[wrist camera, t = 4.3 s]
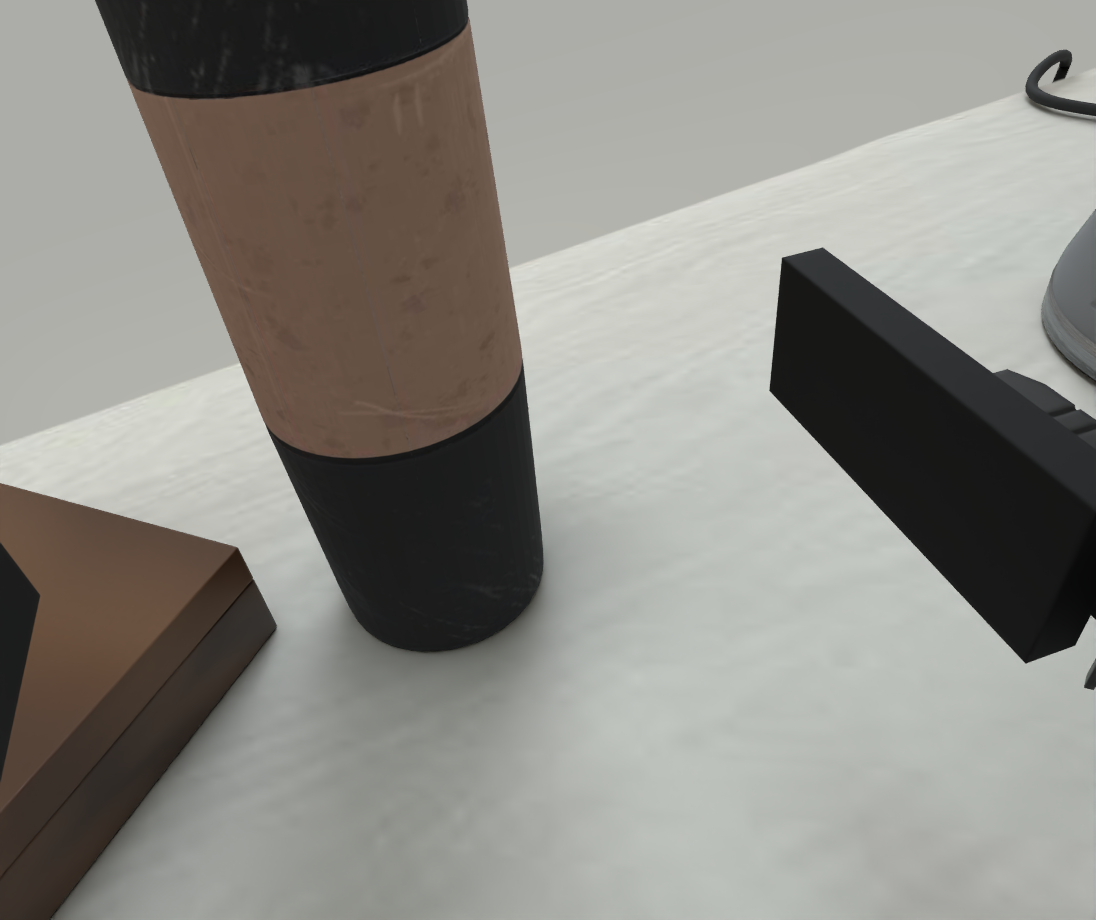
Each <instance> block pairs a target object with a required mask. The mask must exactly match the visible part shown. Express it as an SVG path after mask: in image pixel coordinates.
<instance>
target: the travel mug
mask: <svg viewBox="0 0 1096 920" xmlns="http://www.w3.org/2000/svg"><path fill="white" fill-rule="evenodd" d="M95 1H96V4H97V6H98V9H99V11H100V14H101V16H102V19H103V21H104V24H105V26H106V28H107V31H108V34H109V36H110V39H111V41H112V44H113V46H114V49H115V51H116V53H117V56H118V59H119V61H120V64H121V66H122V69H123V71H124V73H125V76H126V78H127V80H128V83H129V86H130V88H131V90H132V93H133V96H134V98H135V101H136V103H137V106H138V108H139V111H140V113H141V116H142V118H143V121H144V123H145V126H146V128H147V131H148V133H149V136H150V138H151V141H152V143H153V146H154V148H155V150H156V153H157V156H158V158H159V161H160V163H161V166H162V168H163V171H164V173H165V176H166V178H167V181H168V183H169V186H170V188H171V191H172V193H173V196H174V198H175V201H176V203H177V206H178V208H179V211H180V213H181V216H182V218H183V221H184V223H185V226H186V228H187V231H188V233H189V236H190V238H191V241H192V243H193V246H194V248H195V251H196V253H197V256H198V258H199V261H200V263H201V266H202V268H203V271H204V273H205V276H206V278H207V281H208V283H209V286H210V288H211V291H212V293H213V296H214V298H215V301H216V303H217V306H218V308H219V311H220V313H221V316H222V318H223V321H224V323H225V326H226V328H227V331H228V333H229V336H230V338H231V341H232V343H233V346H234V348H235V351H236V353H237V356H238V358H239V361H240V363H241V366H242V368H243V371H244V373H245V376H246V378H247V381H248V383H249V386H250V388H251V391H252V393H253V396H254V398H255V401H256V403H257V406H258V408H259V411H260V413H261V416H262V418H263V421H264V422H265V424H266V427H267V429H268V432H269V434H270V436H271V439H272V441H273V443H274V445H275V447H276V449H277V452H278V454H279V456H280V458H281V460H282V462H283V465H284V467H285V469H286V471H287V473H288V476H289V478H290V480H291V482H292V484H293V486H294V489H295V491H296V493H297V495H298V497H299V499H300V502H301V504H302V506H303V508H304V510H305V513H306V515H307V517H308V519H309V521H310V523H311V526H312V528H313V530H314V532H315V534H316V536H317V539H318V541H319V543H320V545H321V547H322V550H323V552H324V554H325V556H326V558H327V560H328V563H329V565H330V567H331V569H332V571H333V573H334V576H335V578H336V580H337V582H338V584H339V586H340V588H341V591H342V593H343V595H344V597H345V599H346V601H347V603H348V605H349V607H350V609H351V610H352V612H353V614H354V615H355V617H356V619H357V620H358V622H359V623H360V624H361V625H362V626H363V627H364V628H365V629H366V630H367V631H368V632H370V633H371V634H372V635H373V636H375V637H376V638H378V639H380V640H382V641H383V642H385V643H388V644H390V645H393V646H396V647H399V648H403V649H408V650H415V651H442V650H450V649H455V648H459V647H463V646H467V645H470V644H472V643H475V642H478V641H480V640H482V639H485V638H487V637H489V636H491V635H493V634H494V633H496V632H498V631H499V630H501V629H502V628H504V627H505V626H506V625H508V624H509V623H510V622H512V621H513V620H514V619H515V618H516V617H517V616H518V615H519V614H520V613H521V612H522V611H523V610H524V609H525V607H526V606H527V605H528V604H529V602H530V601H531V599H532V597H533V596H534V594H535V592H536V590H537V587H538V585H539V582H540V579H541V575H542V571H543V545H542V534H541V523H540V514H539V504H538V495H537V486H536V477H535V468H534V458H533V449H532V440H531V431H530V422H529V413H528V403H527V394H526V385H525V376H524V367H523V359H522V350H521V343H520V337H519V330H518V324H517V318H516V311H515V305H514V299H513V292H512V286H511V280H510V273H509V267H508V260H507V254H506V248H505V241H504V235H503V229H502V222H501V216H500V210H499V204H498V197H497V191H496V184H495V178H494V172H493V165H492V159H491V153H490V147H489V140H488V133H487V127H486V121H485V114H484V109H483V102H482V95H481V89H480V83H479V76H478V70H477V64H476V57H475V51H474V45H473V38H472V32H471V26H470V20H469V17H468V6H467V0H95Z"/></svg>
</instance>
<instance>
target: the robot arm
mask: <svg viewBox="0 0 1096 920" xmlns="http://www.w3.org/2000/svg"><path fill="white" fill-rule="evenodd" d="M1058 62H1060V64H1059V67H1058V70H1057V72H1056V75H1055V77H1054V79H1053V82H1056V81H1059V80H1062V79H1065V77H1066V75H1067V73H1068V70H1069V68H1070V65H1071V62H1072V54H1071V52H1070V51H1068V50H1059V51H1057V52H1055V53H1053V54H1051V55H1050V56H1048V57H1047V58H1046V59H1044V60H1043V61H1042V62H1041V63H1040V64H1039V65H1038V66H1036V67H1035V69H1034V70H1033V71H1032V72H1031V74H1030V75H1029V77H1028V80H1027V83H1026V93H1027V94H1028V96H1029V98H1030V99H1032V100H1033V101H1035V102H1036V103H1039V104H1041V105H1044V106H1047V107H1050V108H1054V109H1058V110H1063V111H1068V112H1073V113H1079V114H1085V115H1092V116H1096V104H1094V103H1087V102H1081V101H1075V100H1070V99H1065V98H1060V97H1057V96H1053V95H1050V94H1048V93H1045V92H1043V91H1042V90H1040V89H1039V88H1038V81H1039V80H1040V78H1041V77H1042V75H1043V74H1044V73H1045V72H1046V71H1047V70H1048V69H1049V68H1050V67H1051V66H1053V65H1054V64H1056V63H1058ZM1053 82H1052V83H1053ZM1042 318H1043V323H1044V326H1045V329H1046V331H1047V333H1048V335H1049V336H1050V338H1051V340H1052V341H1053V343H1054V344H1055V345H1056V347H1057V348H1058V349H1059V350H1060V351H1061V352H1062V353H1063V355H1064V356H1065V357H1066V358H1067V359H1068V360H1069V361H1071V362H1072V363H1073V364H1074V365H1075V366H1076V367H1078V368H1079V369H1080V370H1081V371H1083V372H1084V373H1085V374H1087V375H1088V376H1090V377H1091V378H1092V379H1094V380H1095V381H1096V209H1095V211H1094V212H1093V213H1092V215H1091V216H1090V217H1089V219H1088V220H1087V221H1086V222H1085V224H1084V225H1083V226H1082V228H1081V229H1080V230H1079V231H1078V233H1077V234H1076V235H1075V237H1074V238H1073V239H1072V241H1071V242H1070V243H1069V244H1068V246H1067V247H1066V249H1065V250H1064V252H1063V254H1062V255H1061V257H1060V259H1059V261H1058V263H1057V264H1056V266H1055V268H1054V270H1053V272H1052V275H1051V278H1050V281H1049V284H1048V287H1047V290H1046V294H1045V297H1044V300H1043V303H1042ZM770 392H771V393H772V394H773V395H774V396H775V397H776V398H777V399H778V400H779V401H780V403H781V404H782V405H783V406H784V407H785V408H786V409H787V410H788V411H789V412H790V413H791V414H792V415H793V416H794V417H795V418H796V420H797V421H798V422H799V423H800V424H801V425H802V426H803V427H804V428H805V429H806V430H807V431H808V432H809V433H810V434H811V436H812V437H813V438H814V439H815V440H816V441H817V442H818V443H819V444H820V445H821V446H822V447H823V448H824V449H825V450H826V451H827V453H828V454H829V455H830V456H831V457H832V458H833V459H834V460H835V461H836V462H837V463H838V464H839V465H840V466H841V467H842V469H843V470H844V471H845V472H846V473H847V474H848V475H849V476H850V477H851V478H852V479H853V480H854V481H855V482H856V483H857V484H858V486H859V487H860V488H861V489H862V490H863V491H864V492H865V493H866V494H867V495H868V496H869V497H870V498H871V499H872V500H873V502H874V503H875V504H876V505H877V506H878V507H879V508H880V509H881V510H882V511H883V512H884V513H885V514H886V515H887V516H888V517H889V519H890V520H891V521H892V522H893V523H894V524H895V525H896V526H897V527H898V528H899V529H900V530H901V531H902V532H903V533H904V535H905V536H906V537H907V538H908V539H909V540H910V541H911V542H912V543H913V544H914V545H915V546H916V547H917V548H918V549H919V550H920V552H921V553H922V554H923V555H924V556H925V557H926V558H927V559H928V560H929V561H930V562H931V563H932V564H933V565H934V566H935V568H936V569H937V570H938V571H939V572H940V573H941V574H942V575H943V576H944V577H945V578H946V579H947V580H948V581H949V582H950V583H951V585H952V586H953V587H954V588H955V589H956V590H957V591H958V592H959V593H960V594H961V595H962V596H963V597H964V598H965V599H966V601H967V602H968V603H969V604H970V605H971V606H972V607H973V608H974V609H975V610H976V611H977V612H978V613H979V614H980V615H981V616H982V618H983V619H984V620H985V621H986V622H987V623H988V624H989V625H990V626H991V627H992V628H993V629H994V630H995V631H996V632H997V634H998V635H999V636H1000V637H1001V638H1002V639H1003V640H1004V641H1005V642H1006V643H1007V644H1008V645H1009V646H1010V647H1011V648H1012V649H1013V651H1014V652H1015V653H1016V654H1017V655H1018V656H1019V657H1020V658H1021V659H1022V660H1023V661H1024V662H1025V663H1028V662H1031V661H1034V660H1037V659H1039V658H1042V657H1045V656H1048V655H1050V654H1053V653H1056V652H1059V651H1061V650H1064V649H1067V648H1070V647H1072V646H1075V645H1076V643H1077V641H1078V639H1079V637H1080V635H1081V633H1082V631H1083V629H1084V627H1085V625H1086V623H1087V621H1088V619H1089V617H1090V616H1091V615H1092V616H1093V617H1094V618H1095V619H1096V420H1095V419H1094V418H1092V417H1091V416H1089V415H1088V414H1087V413H1085V412H1084V411H1082V410H1081V409H1080V410H1076V409H1075V405H1074V404H1072V403H1071V402H1070V401H1068V400H1067V399H1065V398H1064V397H1063V396H1061V395H1060V394H1058V393H1057V392H1055V391H1054V390H1053V389H1051V388H1050V387H1048V386H1047V385H1045V384H1043V383H1041V382H1038V381H1036V380H1033V379H1031V378H1028V377H1025V376H1023V375H1020V374H1018V373H1015V372H1013V371H1010V370H1008V369H1006V370H1003V371H999V372H996V373H992V372H990V371H989V370H988V369H986V368H985V367H984V366H982V365H981V364H980V363H978V362H977V361H976V360H974V359H973V358H972V357H970V356H969V355H967V354H966V353H965V352H963V351H962V350H961V349H959V348H958V347H957V346H955V345H954V344H953V343H951V342H950V341H948V340H947V339H946V338H944V337H943V336H942V335H940V334H939V333H938V332H936V331H935V330H934V329H932V328H931V327H930V326H928V325H927V324H925V323H924V322H923V321H921V320H920V319H919V318H917V317H916V316H915V315H913V314H912V313H911V312H909V311H908V310H906V309H905V308H904V307H902V306H901V305H900V304H898V303H897V302H896V301H894V300H893V299H892V298H890V297H889V296H888V295H886V294H885V293H883V292H882V291H881V290H879V289H878V288H877V287H875V286H874V285H873V284H871V283H870V282H869V281H867V280H866V279H864V278H863V277H862V276H860V275H859V274H858V273H856V272H855V271H854V270H852V269H851V268H850V267H848V266H847V265H846V264H844V263H843V262H841V261H840V260H839V259H837V258H836V257H835V256H833V255H832V254H831V253H829V252H828V251H827V250H825V249H824V248H819V249H815V250H811V251H807V252H803V253H799V254H795V255H791V256H787V257H783V258H782V264H781V275H780V285H779V296H778V306H777V317H776V328H775V338H774V349H773V359H772V370H771V380H770ZM39 599H40V594H39V593H38V591H37V590H36V589H35V587H34V586H33V585H32V584H31V582H30V581H29V580H28V578H27V577H26V576H25V574H24V573H23V572H22V570H21V569H20V568H19V566H18V565H17V564H16V562H15V561H14V560H13V558H12V557H11V556H10V554H9V553H8V552H7V550H6V549H5V548H4V546H3V545H2V544H1V543H0V782H1V777H2V773H3V768H4V763H5V759H6V754H7V749H8V745H9V740H10V735H11V731H12V726H13V721H14V717H15V712H16V707H17V702H18V698H19V693H20V688H21V684H22V679H23V674H24V670H25V665H26V660H27V656H28V651H29V646H30V641H31V637H32V632H33V627H34V623H35V618H36V613H37V609H38V604H39ZM1095 687H1096V659H1095V661H1094V663H1093V664H1092V666H1091V668H1090V670H1089V672H1088V673H1087V676H1086V681H1085V685H1084V688H1088V689H1092V690H1094V688H1095Z"/></svg>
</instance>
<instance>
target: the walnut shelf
mask: <svg viewBox="0 0 1096 920" xmlns="http://www.w3.org/2000/svg"><path fill="white" fill-rule="evenodd" d="M0 543H1V544H2V545H3V546H4V548H5V549H6V550H7V552H8V553H9V554H10V556H11V557H12V558H13V560H14V561H15V562H16V564H17V565H18V566H19V568H20V569H21V570H22V572H23V573H24V574H25V576H26V577H27V578H28V580H29V581H30V582H31V584H32V585H33V586H34V587H35V589H36V590H37V591H38V593H39V594H40V599H39V604H38V609H37V613H36V618H35V623H34V627H33V632H32V637H31V641H30V646H29V651H28V656H27V660H26V665H25V670H24V674H23V679H22V684H21V688H20V693H19V698H18V702H17V707H16V712H15V717H14V721H13V726H12V731H11V735H10V740H9V745H8V749H7V754H6V759H5V763H4V768H3V773H2V777H1V782H0V920H49V919H50V918H51V916H52V915H53V914H54V912H55V911H56V910H57V909H58V907H59V906H60V905H61V903H62V902H63V901H64V900H65V898H66V897H67V896H68V894H69V893H70V892H71V891H72V889H73V888H74V887H75V885H76V884H77V883H78V882H79V880H80V879H81V878H82V876H83V875H84V874H85V873H86V871H87V870H88V869H89V867H90V866H91V865H92V864H93V862H94V861H95V860H96V858H97V857H98V856H99V855H100V853H101V852H102V851H103V849H104V848H105V847H106V846H107V844H108V843H109V842H110V840H111V839H112V838H113V837H114V835H115V834H116V833H117V831H118V830H119V829H120V828H121V826H122V825H123V824H124V822H125V821H126V820H127V819H128V817H129V816H130V815H131V813H132V812H133V811H134V810H135V808H136V807H137V806H138V804H139V803H140V802H141V801H142V799H143V798H144V797H145V795H146V794H147V793H148V792H149V790H150V789H151V788H152V786H153V785H154V784H155V783H156V781H157V780H158V779H159V777H160V776H161V775H162V774H163V772H164V771H165V770H166V768H167V767H168V766H169V765H170V763H171V762H172V761H173V759H174V758H175V757H176V756H177V754H178V753H179V752H180V750H181V749H182V748H183V747H184V745H185V744H186V743H187V741H188V740H189V739H190V738H191V736H192V735H193V734H194V732H195V731H196V730H197V729H198V727H199V726H200V725H201V723H202V722H203V721H204V720H205V718H206V717H207V716H208V714H209V713H210V712H211V711H212V709H213V708H214V707H215V705H216V704H217V703H218V702H219V700H220V699H221V698H222V696H223V695H224V694H225V693H226V691H227V690H228V689H229V687H230V686H231V685H232V684H233V682H234V681H235V680H236V678H237V677H238V676H239V675H240V673H241V672H242V671H243V669H244V668H245V667H246V666H247V664H248V663H249V662H250V660H251V659H252V658H253V657H254V655H255V654H256V653H257V651H258V650H259V649H260V648H261V646H262V645H263V644H264V642H265V641H266V640H267V639H268V637H269V636H270V635H271V633H272V632H273V631H274V630H275V628H276V626H277V625H276V623H275V621H274V619H273V617H272V615H271V613H270V611H269V609H268V607H267V605H266V603H265V601H264V599H263V597H262V595H261V593H260V591H259V589H258V587H257V585H256V583H255V581H254V580H253V577H252V575H251V573H250V571H249V569H248V567H247V565H246V563H245V561H244V559H243V557H242V555H241V553H240V551H239V549H238V548H237V547H234V546H230V545H227V544H223V543H219V542H216V541H212V540H208V539H205V538H201V537H197V536H194V535H190V534H186V533H183V532H179V531H175V530H171V529H168V528H164V527H160V526H157V525H153V524H149V523H146V522H142V521H138V520H135V519H131V518H127V517H123V516H120V515H116V514H112V513H109V512H105V511H101V510H98V509H94V508H90V507H87V506H83V505H79V504H76V503H72V502H68V501H64V500H61V499H57V498H53V497H50V496H46V495H42V494H39V493H35V492H31V491H28V490H24V489H20V488H16V487H13V486H9V485H5V484H2V483H0Z"/></svg>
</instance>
